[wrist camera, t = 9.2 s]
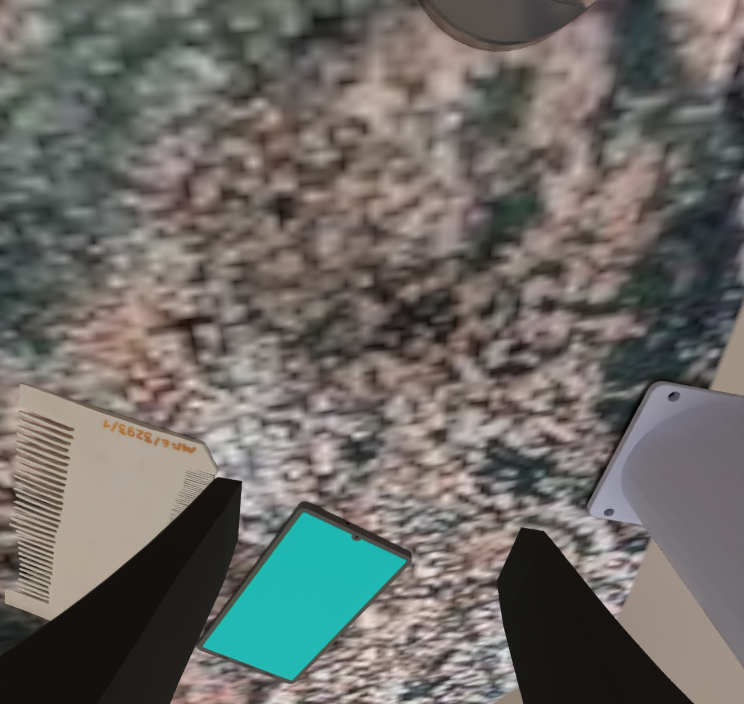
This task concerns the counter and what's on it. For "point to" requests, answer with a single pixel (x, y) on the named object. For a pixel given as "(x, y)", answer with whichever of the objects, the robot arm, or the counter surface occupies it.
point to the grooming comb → (97, 495)
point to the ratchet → (500, 21)
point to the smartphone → (303, 594)
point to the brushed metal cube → (575, 3)
